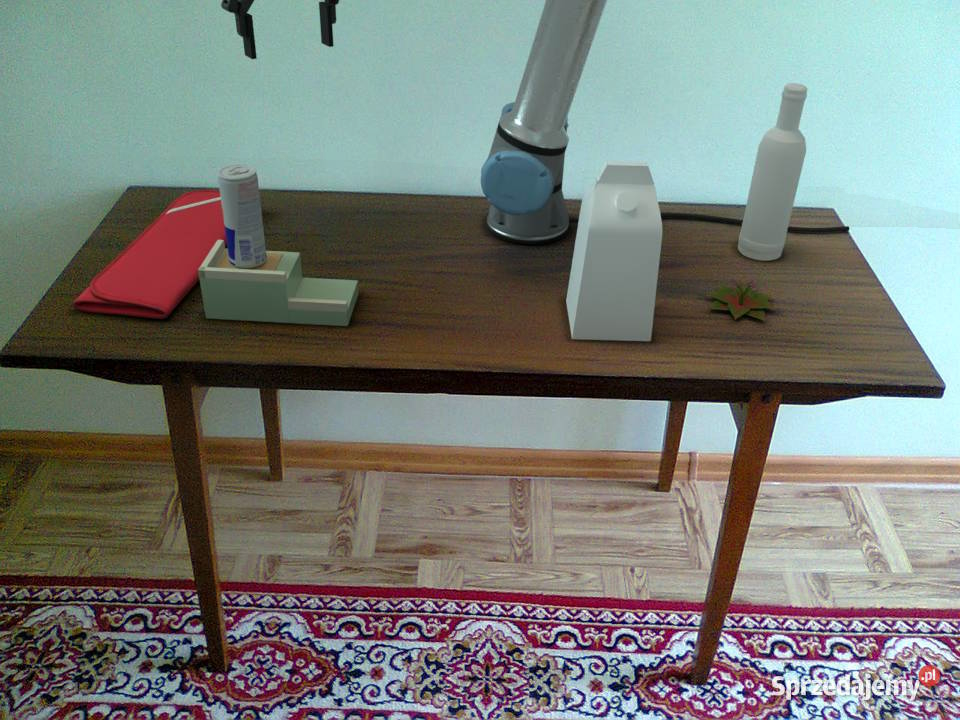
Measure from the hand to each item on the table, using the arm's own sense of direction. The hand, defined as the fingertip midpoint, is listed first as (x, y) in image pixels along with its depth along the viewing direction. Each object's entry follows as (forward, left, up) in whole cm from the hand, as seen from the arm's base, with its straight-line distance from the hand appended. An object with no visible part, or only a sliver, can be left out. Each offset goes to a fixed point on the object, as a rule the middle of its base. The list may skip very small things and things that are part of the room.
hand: (290, 51), depth 147 cm
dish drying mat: (+20, +11, -33) cm, 40 cm away
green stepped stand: (-2, +25, -33) cm, 41 cm away
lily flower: (-75, +17, -33) cm, 84 cm away
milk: (-53, +24, -33) cm, 67 cm away
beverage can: (+3, +24, -26) cm, 36 cm away
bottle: (-82, -3, -33) cm, 88 cm away
